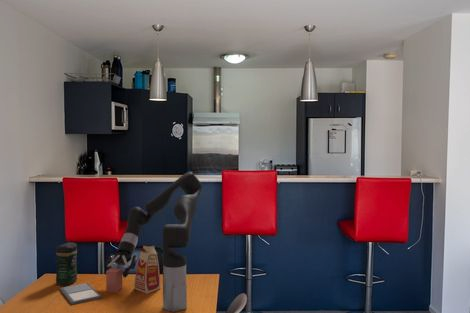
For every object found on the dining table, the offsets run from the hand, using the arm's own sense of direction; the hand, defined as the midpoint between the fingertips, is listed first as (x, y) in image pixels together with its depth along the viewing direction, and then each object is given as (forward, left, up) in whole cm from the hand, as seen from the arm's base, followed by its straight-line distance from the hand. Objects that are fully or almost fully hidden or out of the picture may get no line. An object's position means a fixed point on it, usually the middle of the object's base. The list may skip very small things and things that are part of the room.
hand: (115, 276), depth 182 cm
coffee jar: (+21, +16, -6) cm, 27 cm away
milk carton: (-8, -12, -6) cm, 16 cm away
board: (+2, +15, -6) cm, 16 cm away
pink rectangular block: (-1, +1, -6) cm, 6 cm away
